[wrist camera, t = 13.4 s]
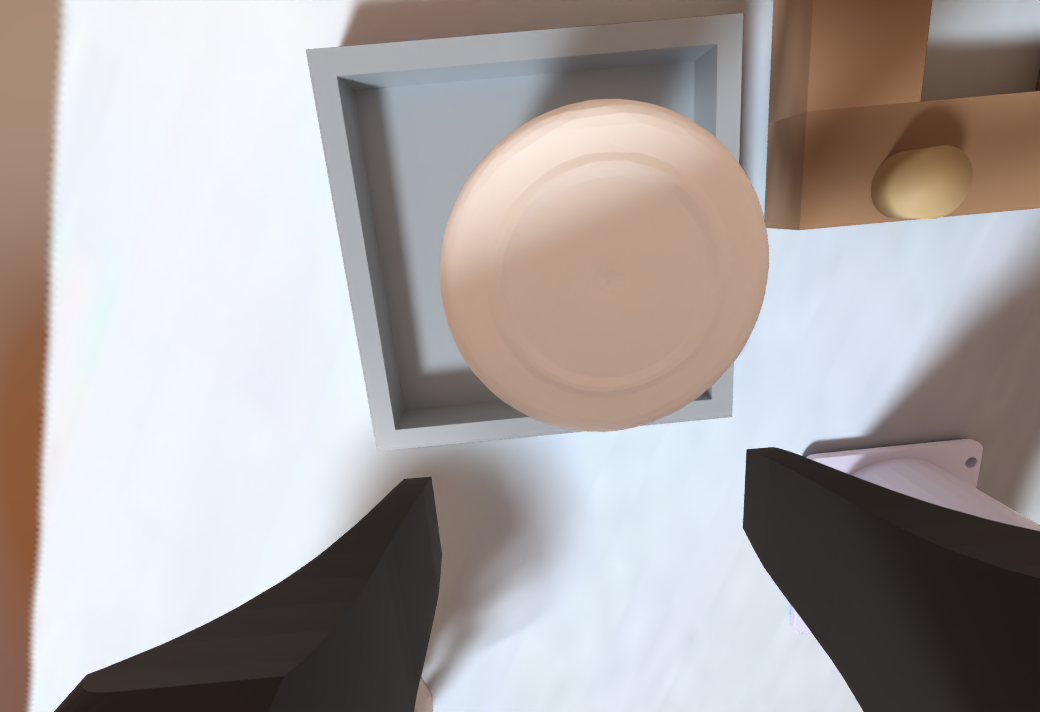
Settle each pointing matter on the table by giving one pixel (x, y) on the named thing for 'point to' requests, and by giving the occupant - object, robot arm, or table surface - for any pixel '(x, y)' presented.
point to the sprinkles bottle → (604, 265)
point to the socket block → (884, 124)
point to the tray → (448, 164)
